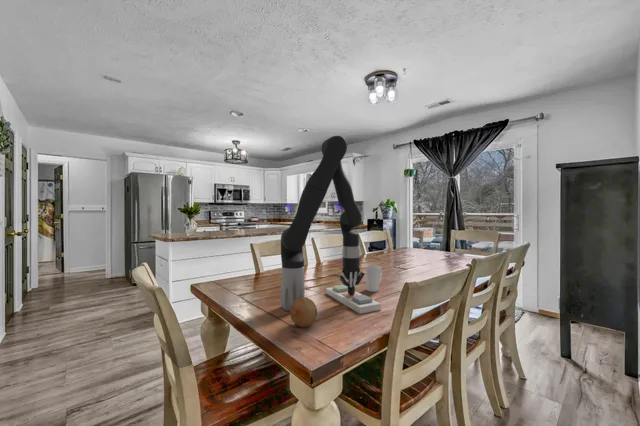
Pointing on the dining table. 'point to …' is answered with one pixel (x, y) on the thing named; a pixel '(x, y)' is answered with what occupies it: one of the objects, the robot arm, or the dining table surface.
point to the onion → (303, 312)
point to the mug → (373, 277)
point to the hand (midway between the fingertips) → (351, 294)
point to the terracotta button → (349, 295)
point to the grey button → (362, 299)
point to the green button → (340, 288)
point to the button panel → (353, 305)
